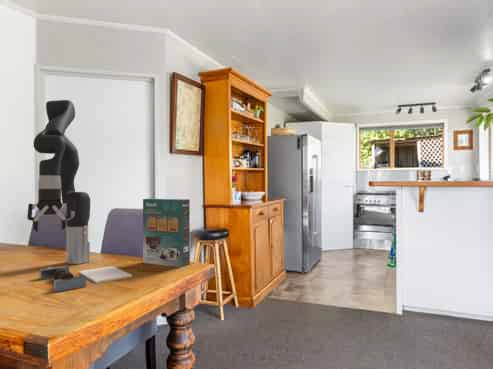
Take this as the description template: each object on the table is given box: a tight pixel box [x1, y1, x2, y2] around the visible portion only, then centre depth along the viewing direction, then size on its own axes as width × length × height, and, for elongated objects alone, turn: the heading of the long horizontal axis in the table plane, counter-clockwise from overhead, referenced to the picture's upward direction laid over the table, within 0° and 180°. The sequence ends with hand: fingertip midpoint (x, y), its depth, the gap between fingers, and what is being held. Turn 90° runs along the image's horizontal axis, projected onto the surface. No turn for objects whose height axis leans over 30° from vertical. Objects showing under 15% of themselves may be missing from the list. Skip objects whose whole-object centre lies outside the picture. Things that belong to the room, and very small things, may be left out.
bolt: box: [53, 269, 75, 280], centre depth 134 cm, size 6×5×15 cm
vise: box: [38, 265, 87, 293], centre depth 137 cm, size 10×30×4 cm, turn 42°
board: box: [78, 265, 133, 284], centre depth 145 cm, size 14×20×1 cm
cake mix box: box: [142, 198, 191, 268], centre depth 166 cm, size 22×6×30 cm, turn 66°
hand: (49, 230), depth 135 cm, fingers open, 8 cm apart
